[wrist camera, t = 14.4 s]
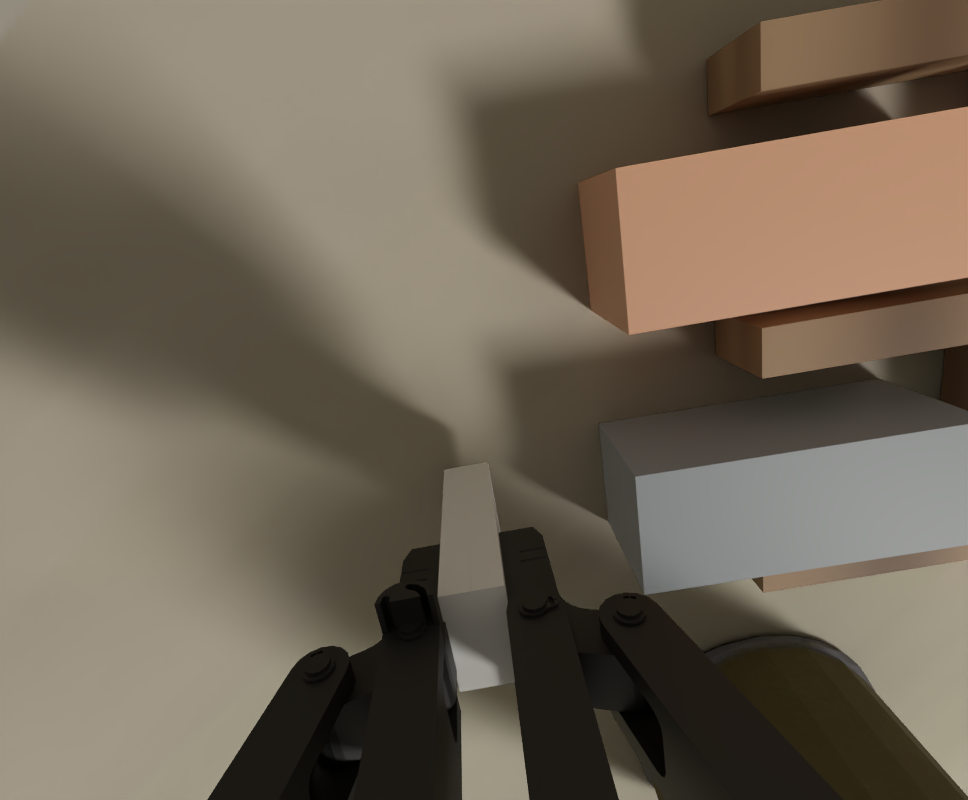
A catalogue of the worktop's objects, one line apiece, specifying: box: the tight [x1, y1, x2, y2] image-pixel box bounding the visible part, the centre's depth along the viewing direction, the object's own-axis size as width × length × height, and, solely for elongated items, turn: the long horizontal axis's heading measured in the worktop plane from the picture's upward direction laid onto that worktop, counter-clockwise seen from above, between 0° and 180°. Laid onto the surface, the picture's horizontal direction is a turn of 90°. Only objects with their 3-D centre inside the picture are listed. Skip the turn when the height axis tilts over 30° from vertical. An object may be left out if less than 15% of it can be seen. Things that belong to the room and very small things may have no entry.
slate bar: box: [599, 378, 968, 595], centre depth 18 cm, size 10×4×4 cm, turn 99°
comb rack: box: [707, 0, 968, 593], centre depth 17 cm, size 10×16×3 cm, turn 9°
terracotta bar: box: [578, 107, 968, 335], centre depth 15 cm, size 10×4×4 cm, turn 99°
